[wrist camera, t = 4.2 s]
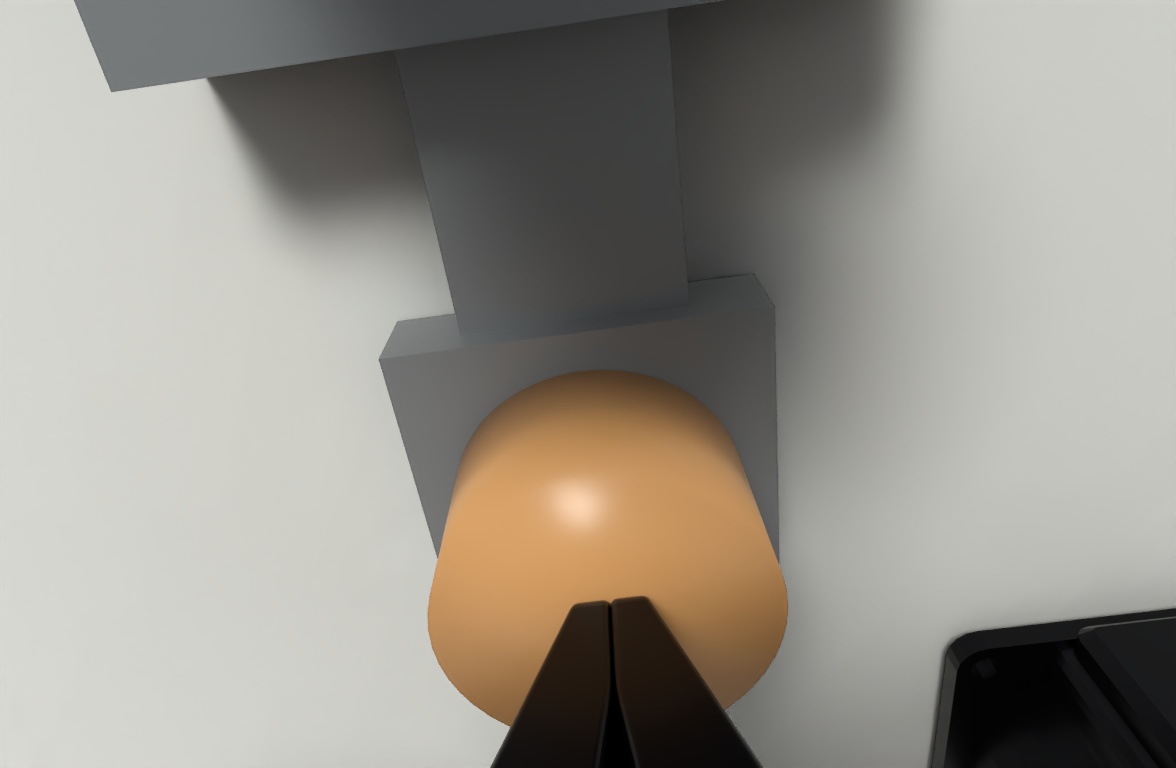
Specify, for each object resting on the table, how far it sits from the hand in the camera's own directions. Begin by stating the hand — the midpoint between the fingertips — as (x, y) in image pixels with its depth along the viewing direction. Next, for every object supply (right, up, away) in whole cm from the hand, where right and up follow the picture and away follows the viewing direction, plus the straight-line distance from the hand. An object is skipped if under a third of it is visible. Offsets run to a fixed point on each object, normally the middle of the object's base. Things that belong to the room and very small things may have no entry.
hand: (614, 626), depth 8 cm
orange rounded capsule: (0, +2, +3) cm, 4 cm away
